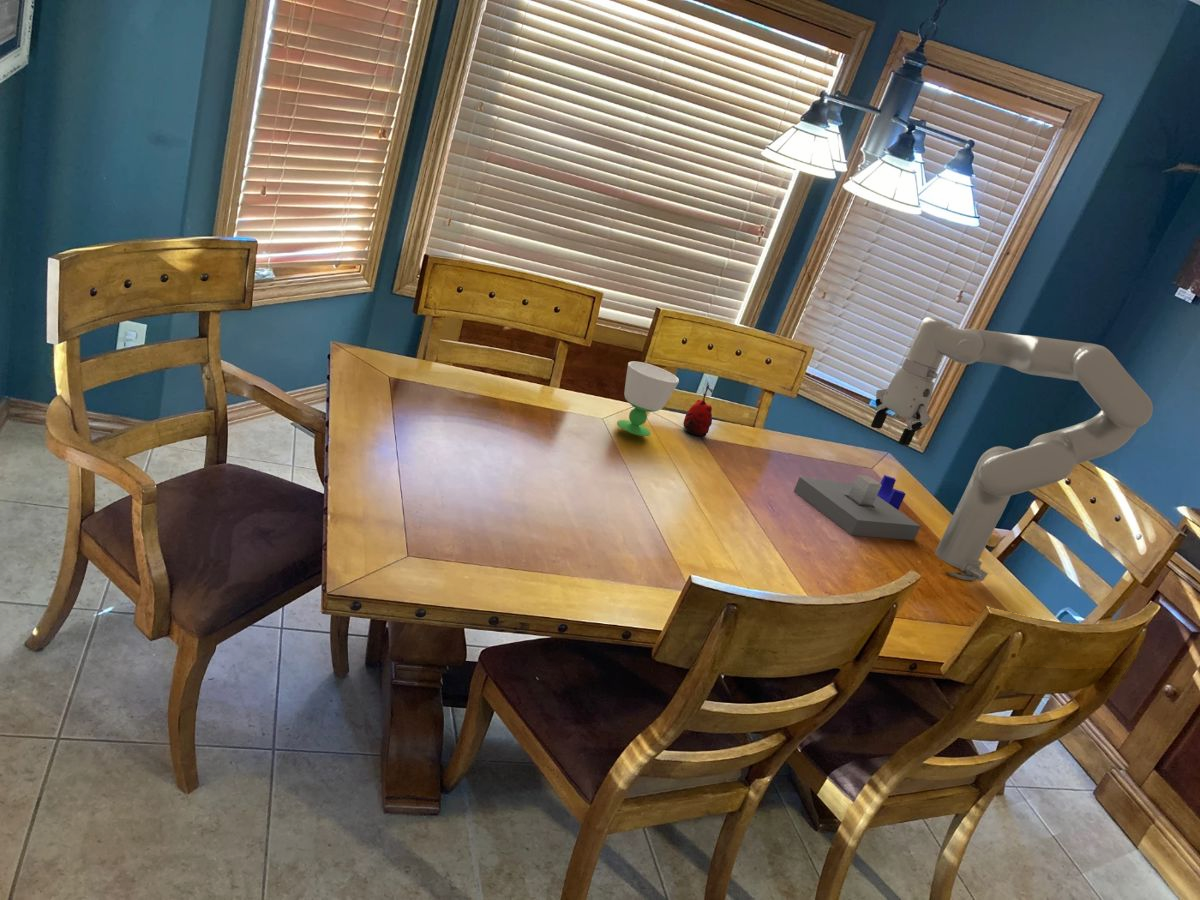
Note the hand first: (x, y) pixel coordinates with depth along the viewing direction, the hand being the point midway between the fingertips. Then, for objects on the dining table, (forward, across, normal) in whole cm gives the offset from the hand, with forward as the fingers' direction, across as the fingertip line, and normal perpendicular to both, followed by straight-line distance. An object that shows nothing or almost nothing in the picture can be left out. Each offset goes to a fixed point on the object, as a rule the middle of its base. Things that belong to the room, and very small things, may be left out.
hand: (889, 436), depth 227 cm
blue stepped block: (+22, +10, -21) cm, 32 cm away
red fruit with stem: (+22, +44, +21) cm, 54 cm away
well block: (+22, 0, 0) cm, 22 cm away
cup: (+22, +40, +43) cm, 63 cm away
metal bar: (+22, 0, 0) cm, 22 cm away
